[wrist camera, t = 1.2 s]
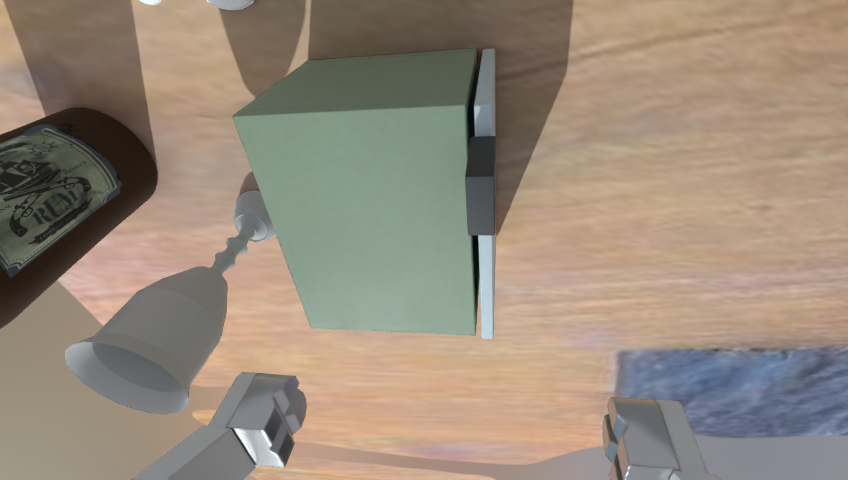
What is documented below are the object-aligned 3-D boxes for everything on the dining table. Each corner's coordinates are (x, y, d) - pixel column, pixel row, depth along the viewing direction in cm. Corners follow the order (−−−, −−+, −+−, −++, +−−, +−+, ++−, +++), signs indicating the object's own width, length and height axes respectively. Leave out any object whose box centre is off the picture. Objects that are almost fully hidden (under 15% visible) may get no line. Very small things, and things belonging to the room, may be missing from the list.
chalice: (222, 228, 41) (76, 391, 27) (225, 169, 37) (53, 325, 23) (296, 253, 42) (189, 426, 28) (306, 198, 38) (187, 368, 24)
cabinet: (476, 47, 28) (465, 104, 20) (482, 241, 38) (475, 336, 29) (307, 60, 31) (231, 115, 22) (351, 240, 40) (310, 328, 31)
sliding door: (498, 47, 28) (494, 140, 16) (498, 244, 37) (495, 391, 26) (479, 49, 28) (462, 141, 17) (484, 244, 37) (475, 390, 26)
